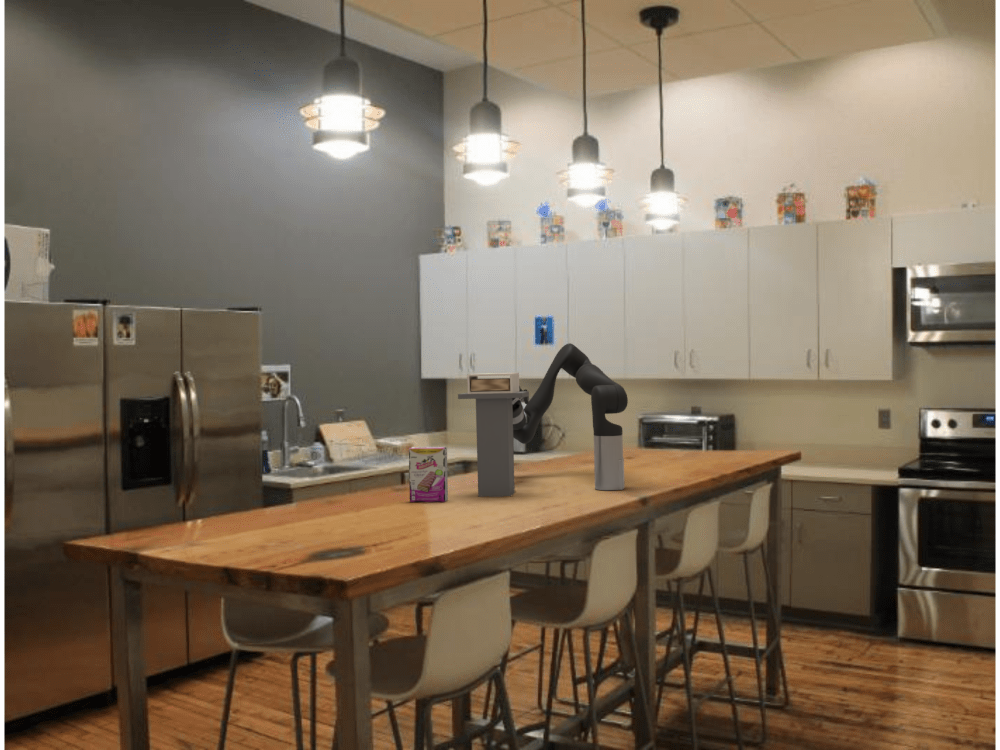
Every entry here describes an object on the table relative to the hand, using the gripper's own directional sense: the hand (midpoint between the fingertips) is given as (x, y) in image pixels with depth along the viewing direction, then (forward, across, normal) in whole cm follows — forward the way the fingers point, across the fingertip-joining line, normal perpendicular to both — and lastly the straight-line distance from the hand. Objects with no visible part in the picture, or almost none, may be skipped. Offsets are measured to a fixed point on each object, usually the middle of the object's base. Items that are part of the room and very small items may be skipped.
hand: (503, 386), depth 323 cm
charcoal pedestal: (-4, 0, +36) cm, 37 cm away
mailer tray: (+8, 0, +5) cm, 10 cm away
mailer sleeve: (+12, 0, +9) cm, 15 cm away
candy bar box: (+8, -18, +44) cm, 48 cm away
